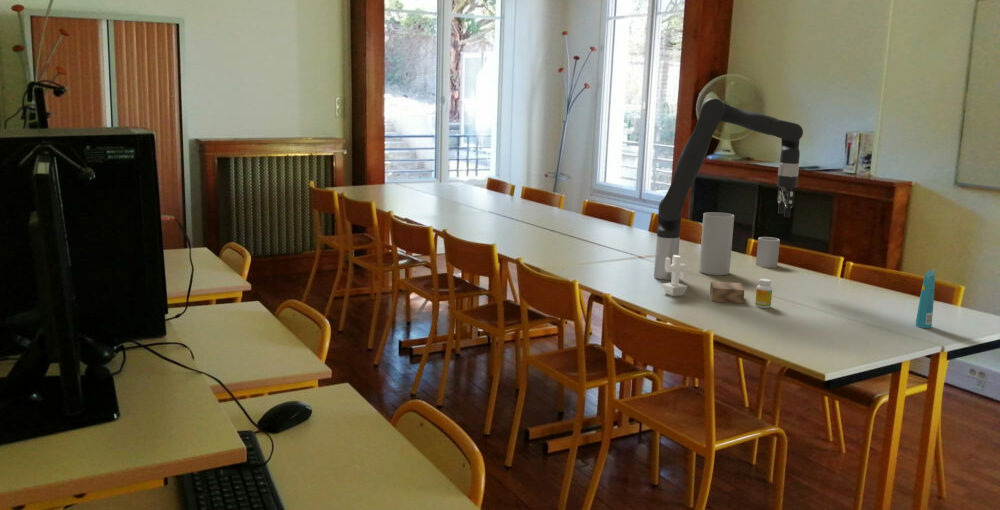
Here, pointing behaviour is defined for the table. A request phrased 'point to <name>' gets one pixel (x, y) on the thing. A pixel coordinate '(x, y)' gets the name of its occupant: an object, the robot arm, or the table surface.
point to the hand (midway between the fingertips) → (783, 215)
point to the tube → (926, 301)
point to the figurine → (675, 276)
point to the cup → (767, 252)
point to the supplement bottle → (763, 294)
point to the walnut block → (727, 292)
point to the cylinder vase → (716, 243)
